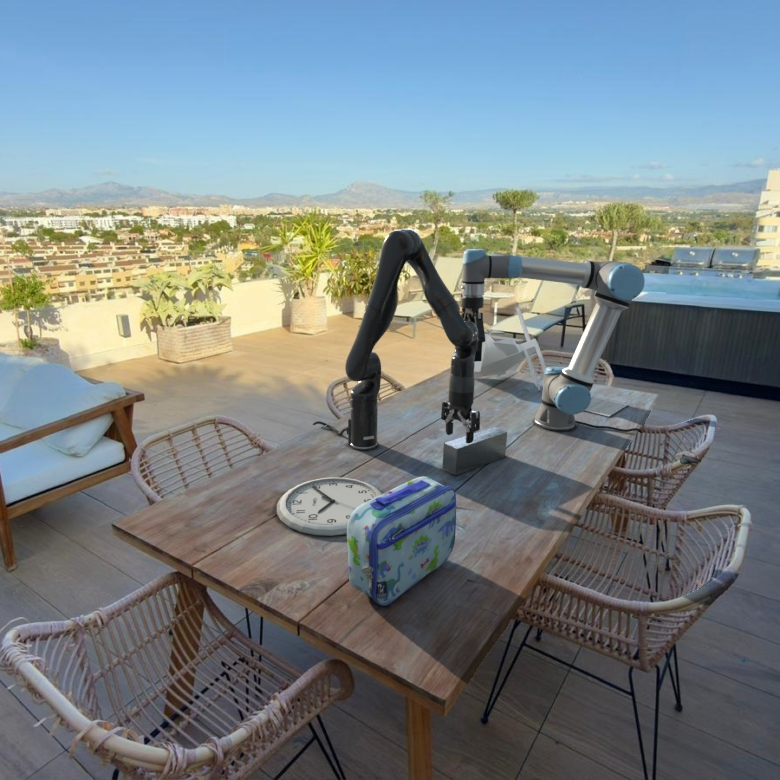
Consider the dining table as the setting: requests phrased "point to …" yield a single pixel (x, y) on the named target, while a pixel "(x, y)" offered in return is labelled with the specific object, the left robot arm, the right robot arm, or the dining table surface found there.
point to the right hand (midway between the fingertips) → (470, 356)
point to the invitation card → (604, 406)
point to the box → (474, 450)
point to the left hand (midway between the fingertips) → (459, 438)
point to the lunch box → (400, 538)
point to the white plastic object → (507, 355)
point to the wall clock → (324, 504)
